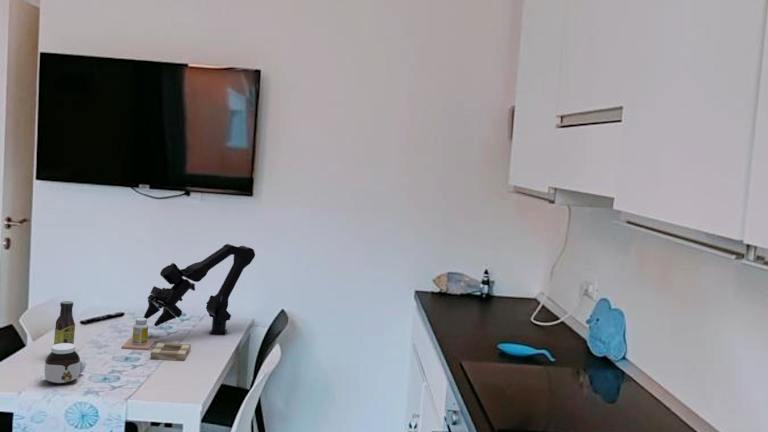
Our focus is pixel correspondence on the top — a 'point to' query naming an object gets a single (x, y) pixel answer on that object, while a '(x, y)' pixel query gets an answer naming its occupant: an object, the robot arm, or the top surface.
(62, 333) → the sauce bottle
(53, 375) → the spread jar
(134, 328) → the supplement bottle
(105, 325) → the top surface
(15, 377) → the top surface
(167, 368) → the top surface
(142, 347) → the terracotta tile
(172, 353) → the socket block
